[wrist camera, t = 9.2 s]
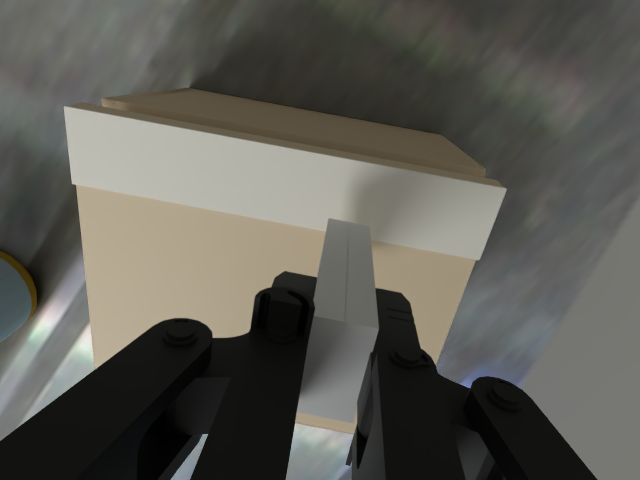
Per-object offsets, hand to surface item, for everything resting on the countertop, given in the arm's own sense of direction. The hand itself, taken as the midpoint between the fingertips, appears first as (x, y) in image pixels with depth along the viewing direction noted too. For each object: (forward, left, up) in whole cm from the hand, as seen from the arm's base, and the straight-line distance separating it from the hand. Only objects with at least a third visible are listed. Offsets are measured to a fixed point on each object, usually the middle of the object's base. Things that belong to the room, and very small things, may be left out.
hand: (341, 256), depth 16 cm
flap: (-4, +3, -3) cm, 5 cm away
